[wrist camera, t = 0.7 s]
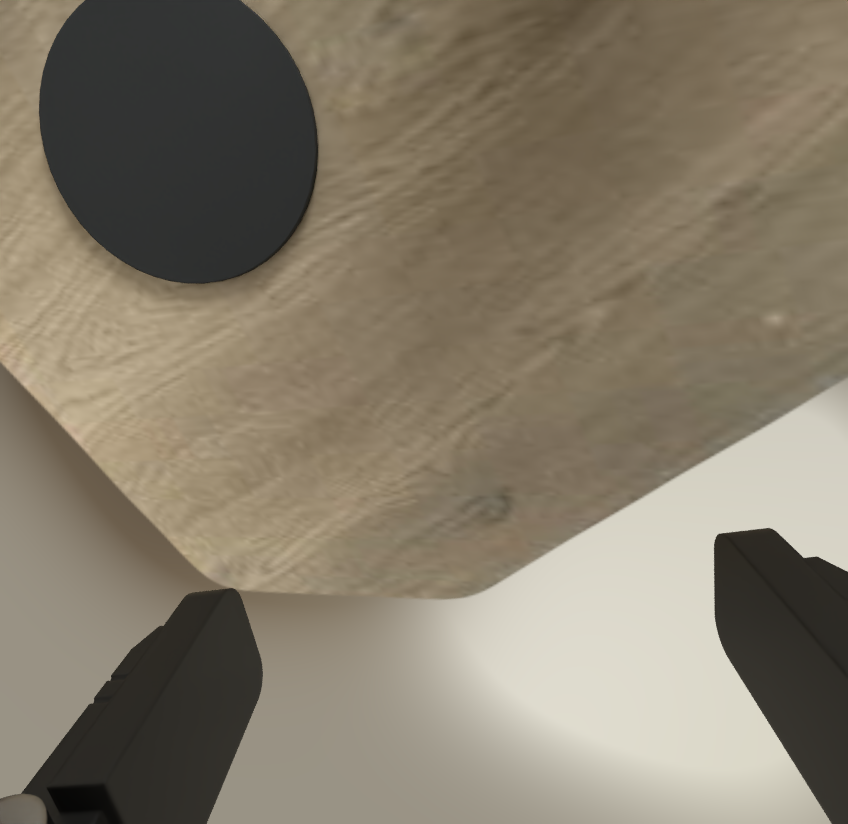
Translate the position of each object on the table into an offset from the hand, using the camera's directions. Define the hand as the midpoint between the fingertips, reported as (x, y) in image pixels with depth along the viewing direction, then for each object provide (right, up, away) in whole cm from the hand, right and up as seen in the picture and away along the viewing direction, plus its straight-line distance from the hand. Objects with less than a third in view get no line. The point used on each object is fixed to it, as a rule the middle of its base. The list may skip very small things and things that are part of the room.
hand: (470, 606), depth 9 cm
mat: (-15, +19, +23) cm, 33 cm away
